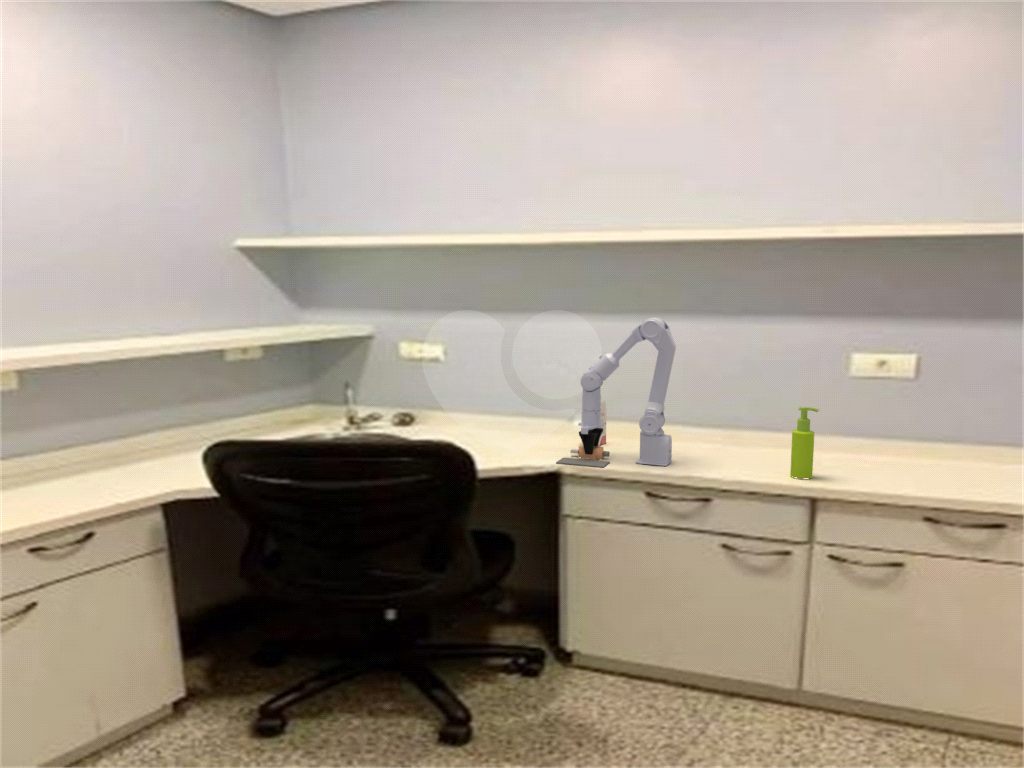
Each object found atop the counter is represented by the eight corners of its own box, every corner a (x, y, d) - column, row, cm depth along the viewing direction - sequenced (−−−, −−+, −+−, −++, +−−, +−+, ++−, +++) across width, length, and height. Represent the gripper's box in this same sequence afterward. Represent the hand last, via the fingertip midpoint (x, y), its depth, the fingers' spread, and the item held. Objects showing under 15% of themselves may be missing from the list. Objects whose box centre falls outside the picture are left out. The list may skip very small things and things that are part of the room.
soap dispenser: (813, 481, 231) (816, 410, 228) (788, 477, 235) (791, 407, 232) (818, 476, 236) (821, 407, 233) (793, 473, 240) (796, 405, 237)
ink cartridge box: (593, 441, 285) (594, 399, 282) (606, 443, 282) (607, 400, 280) (580, 446, 278) (580, 402, 276) (593, 447, 275) (593, 404, 273)
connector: (610, 458, 260) (610, 447, 260) (607, 460, 256) (607, 450, 256) (573, 454, 265) (573, 444, 264) (569, 457, 261) (569, 446, 261)
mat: (610, 462, 253) (610, 461, 253) (603, 467, 247) (603, 466, 247) (563, 458, 259) (563, 457, 259) (555, 463, 253) (555, 462, 253)
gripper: (586, 405, 266) (585, 447, 268) (571, 412, 253) (571, 456, 255) (607, 406, 264) (606, 448, 266) (593, 414, 250) (593, 458, 252)
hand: (590, 452), depth 260 cm, fingers closed on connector, 4 cm apart
